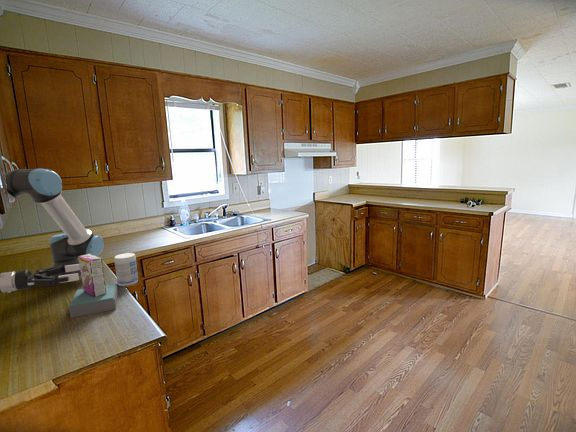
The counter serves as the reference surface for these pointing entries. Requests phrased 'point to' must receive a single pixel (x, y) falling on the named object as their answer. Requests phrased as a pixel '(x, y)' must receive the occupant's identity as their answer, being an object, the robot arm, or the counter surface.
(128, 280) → the supplement tub
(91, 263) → the candy bar box
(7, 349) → the counter surface
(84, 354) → the counter surface
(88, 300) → the block
